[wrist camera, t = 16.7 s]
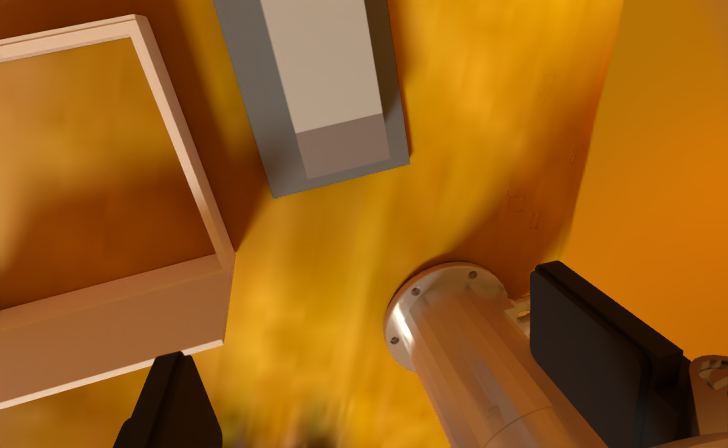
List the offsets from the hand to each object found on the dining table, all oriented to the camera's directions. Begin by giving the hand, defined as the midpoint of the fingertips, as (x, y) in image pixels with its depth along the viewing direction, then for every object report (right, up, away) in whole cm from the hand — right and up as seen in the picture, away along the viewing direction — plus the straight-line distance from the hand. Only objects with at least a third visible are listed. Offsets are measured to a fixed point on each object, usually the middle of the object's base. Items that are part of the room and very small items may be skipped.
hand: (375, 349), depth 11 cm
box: (-3, +14, +17) cm, 23 cm away
